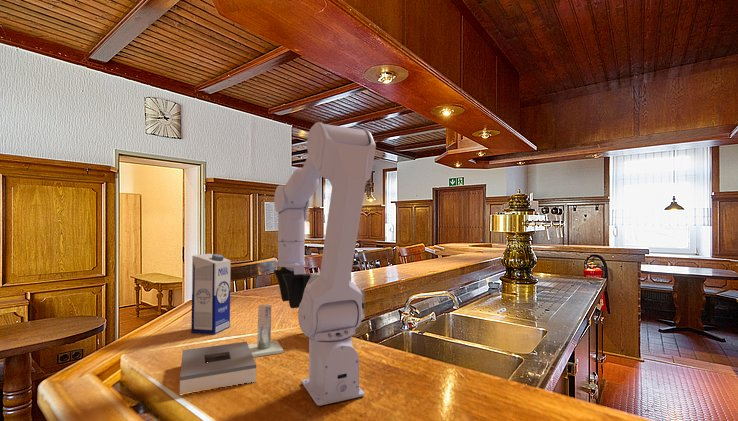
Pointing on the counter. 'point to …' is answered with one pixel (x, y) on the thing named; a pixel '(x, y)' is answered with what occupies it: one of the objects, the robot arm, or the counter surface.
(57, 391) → the counter surface
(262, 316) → the shiny metal cylinder
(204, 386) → the box
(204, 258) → the milk carton
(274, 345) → the pad
